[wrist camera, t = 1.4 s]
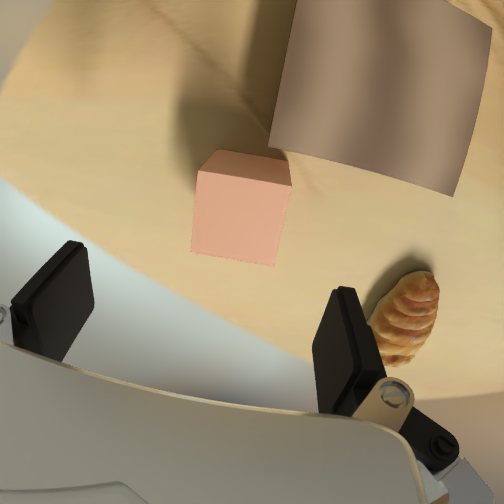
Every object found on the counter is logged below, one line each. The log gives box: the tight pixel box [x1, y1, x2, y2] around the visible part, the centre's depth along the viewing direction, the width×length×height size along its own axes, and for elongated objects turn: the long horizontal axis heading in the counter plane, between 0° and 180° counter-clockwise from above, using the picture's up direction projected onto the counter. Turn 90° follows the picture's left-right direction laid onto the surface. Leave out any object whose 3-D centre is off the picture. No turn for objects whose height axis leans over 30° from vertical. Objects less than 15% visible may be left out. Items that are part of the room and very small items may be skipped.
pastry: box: [367, 271, 440, 367], centre depth 26 cm, size 9×7×4 cm
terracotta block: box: [191, 149, 292, 267], centre depth 20 cm, size 5×5×6 cm
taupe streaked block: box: [268, 0, 492, 197], centre depth 16 cm, size 12×12×5 cm
